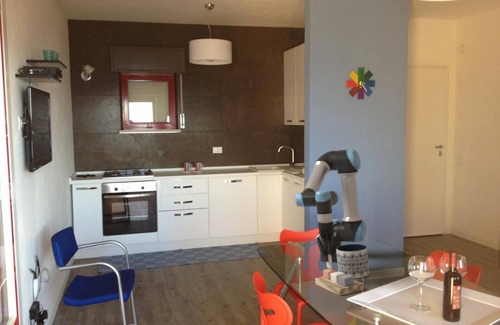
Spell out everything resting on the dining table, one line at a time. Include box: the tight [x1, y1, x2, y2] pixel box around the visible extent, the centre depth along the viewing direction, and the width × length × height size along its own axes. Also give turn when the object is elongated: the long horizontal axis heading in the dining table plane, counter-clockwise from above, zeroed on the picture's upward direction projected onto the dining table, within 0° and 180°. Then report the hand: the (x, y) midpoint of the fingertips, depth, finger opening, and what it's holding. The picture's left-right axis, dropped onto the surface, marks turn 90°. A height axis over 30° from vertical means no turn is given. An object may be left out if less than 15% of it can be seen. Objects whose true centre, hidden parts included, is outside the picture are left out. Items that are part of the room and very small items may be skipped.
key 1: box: [322, 268, 338, 280], centre depth 238 cm, size 5×5×5 cm
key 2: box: [338, 275, 354, 287], centre depth 225 cm, size 5×5×5 cm
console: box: [314, 276, 364, 296], centre depth 231 cm, size 13×22×3 cm, turn 23°
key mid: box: [330, 270, 345, 284], centre depth 231 cm, size 5×5×5 cm
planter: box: [336, 243, 370, 280], centre depth 249 cm, size 16×16×14 cm
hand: (329, 267), depth 238 cm, fingers closed
